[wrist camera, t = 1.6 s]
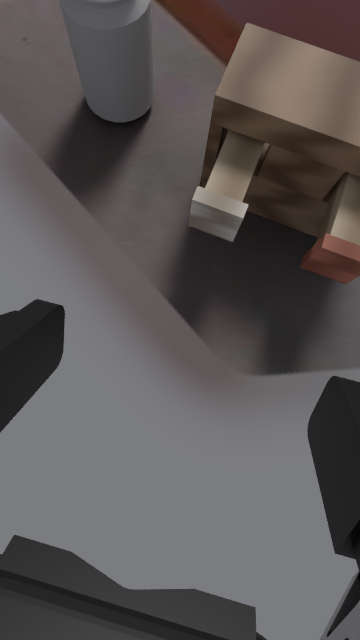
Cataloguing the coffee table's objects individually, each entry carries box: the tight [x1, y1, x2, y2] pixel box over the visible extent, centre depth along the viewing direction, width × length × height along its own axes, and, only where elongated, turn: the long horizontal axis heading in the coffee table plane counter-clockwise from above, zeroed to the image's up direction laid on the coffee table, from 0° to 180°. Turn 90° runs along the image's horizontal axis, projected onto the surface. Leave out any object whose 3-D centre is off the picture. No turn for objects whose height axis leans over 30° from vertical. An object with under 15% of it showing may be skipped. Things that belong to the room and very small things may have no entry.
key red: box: [300, 172, 360, 284], centre depth 27 cm, size 4×9×4 cm, turn 159°
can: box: [59, 0, 154, 122], centre depth 31 cm, size 8×8×12 cm
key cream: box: [188, 130, 265, 242], centre depth 27 cm, size 4×9×4 cm, turn 159°
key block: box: [200, 23, 360, 237], centre depth 30 cm, size 16×7×12 cm, turn 69°
